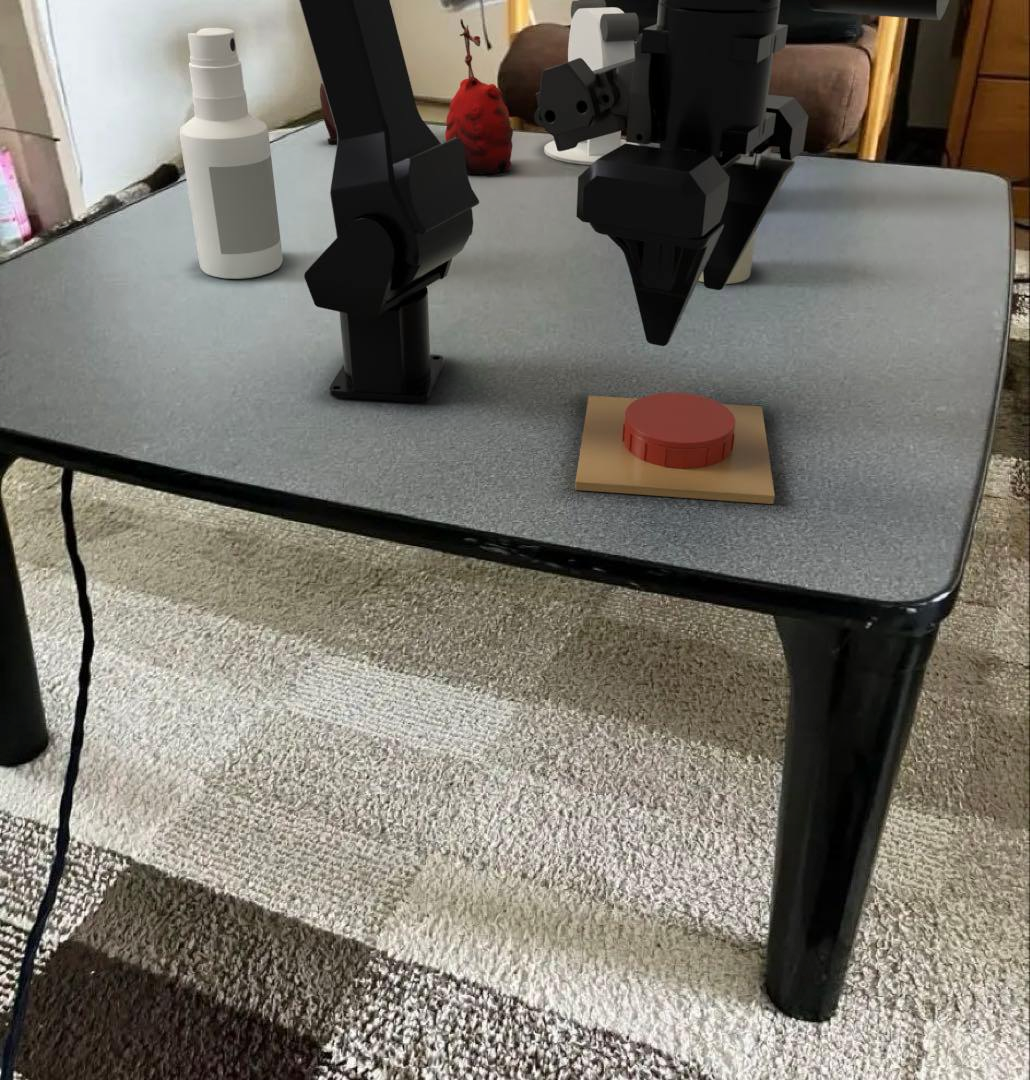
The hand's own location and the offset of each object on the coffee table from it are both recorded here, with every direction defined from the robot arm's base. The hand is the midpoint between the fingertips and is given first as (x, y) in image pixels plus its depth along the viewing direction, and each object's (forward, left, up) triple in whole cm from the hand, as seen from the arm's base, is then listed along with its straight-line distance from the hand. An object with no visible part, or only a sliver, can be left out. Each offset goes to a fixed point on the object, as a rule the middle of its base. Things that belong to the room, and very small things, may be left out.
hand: (687, 314), depth 60 cm
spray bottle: (+27, +36, -9) cm, 46 cm away
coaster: (0, 0, -8) cm, 9 cm away
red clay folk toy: (+60, +21, -9) cm, 64 cm away
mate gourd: (+69, +37, -9) cm, 79 cm away
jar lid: (0, 0, -7) cm, 7 cm away
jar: (+31, -3, -8) cm, 33 cm away
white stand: (+69, +9, -9) cm, 70 cm away
